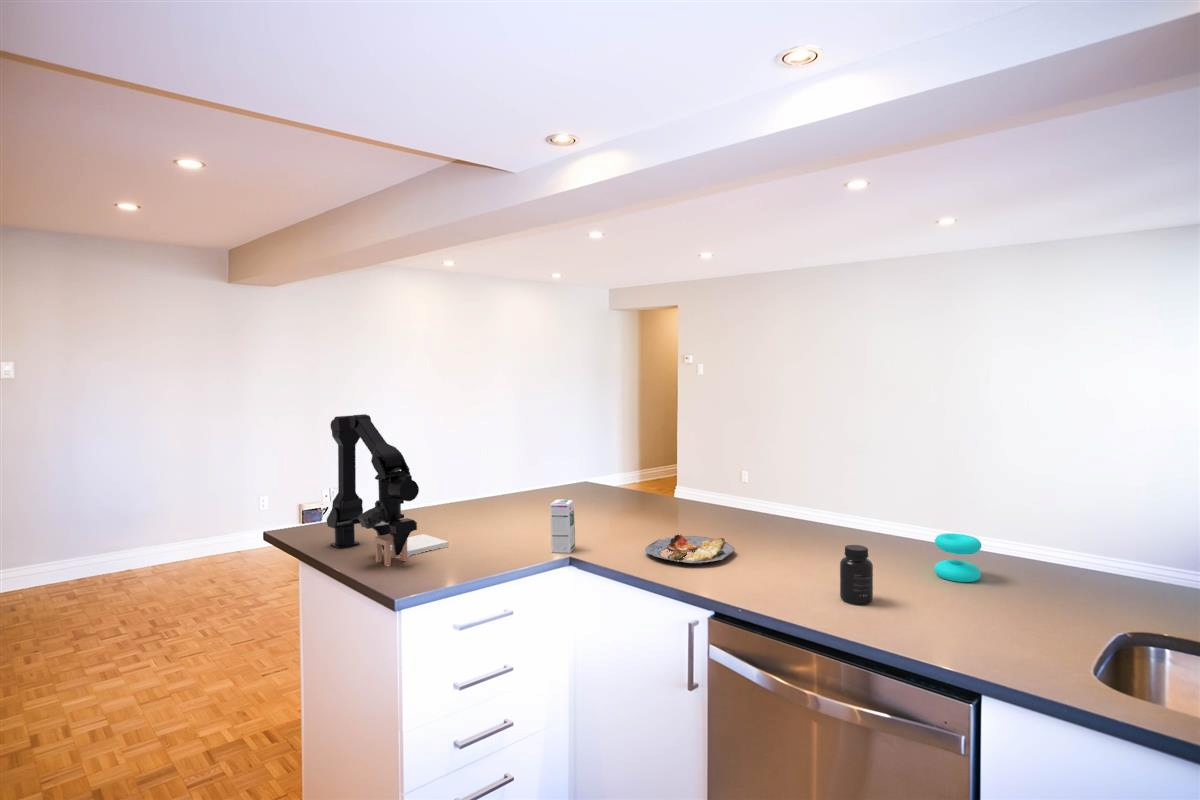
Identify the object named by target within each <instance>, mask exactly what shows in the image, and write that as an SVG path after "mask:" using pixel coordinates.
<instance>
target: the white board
mask: <svg viewBox="0 0 1200 800" xmlns="http://www.w3.org/2000/svg"><path fill="white" fill-rule="evenodd" d="M449 544H450V543H449V541H448V540H445V539H442V538H441V539H440V538H438V537H435V536H431V535H428V534H426V533H422V534H418V535H414V536H408V538H407V556H408V557H410V556H409V555H412V554H416V555H418V554H417V553H420V554H422V553H421V552H425V551H429V550H433V551H435V550H434V549H437V550H439V549H438V548H441V549H443V548H442V547H445V548H448V547H447V546H449V547H450V545H449ZM390 550H391V551H390V552H392V545H390ZM429 552H430V551H429ZM425 553H426V552H425ZM400 554H401V553H400ZM412 556H413V555H412Z"/></svg>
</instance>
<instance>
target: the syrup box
mask: <svg viewBox="0 0 1200 800" xmlns="http://www.w3.org/2000/svg"><path fill="white" fill-rule="evenodd" d="M574 502H575V501H574V500H573V499H566V498H564V499H555V500H554V501H552V502H551V503H550V504H549V508H550V509H549V510H550V534H551V536H550V537H551V539H550V540H551V543H550V544H551V553H556V554H571V553H572V552H573V551H574V549H576V530H575V529H576V528H575V503H574Z"/></svg>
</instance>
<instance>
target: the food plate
mask: <svg viewBox="0 0 1200 800" xmlns="http://www.w3.org/2000/svg"><path fill="white" fill-rule="evenodd" d="M660 549H661V550H660ZM665 549H668V550H669V552H670V551H671V553H672V552H673V553H672V554H670V555H667V557H665V556H661V554H660V553H662V552H661V551H663V550H665ZM693 550H695V552H694V551H693ZM735 550H736V549H735V547H734V546H733V545H731V544H730V543H729V542H727V541H726V538H724V537H721V538H710V537H707V536H696V535H691V536H689V535H687V536H686V535H682V534H675V535H674V536H672V537H666V538H661V539H660V538H659V539H657V540H655V541H654V542H651V543H650V544H649V545H647V546H645V548H644V552H645V553H646V554H647V555H652V556H653V557H655V558H658V559H659V558H660V559H662V560H663V559H664V560H666V561H670V562H674V563H675V562H676V563H681V564H692V565H693V564H694V565H699V564H700V565H702V564H703V563H704V564H705V563H706V564H707V563H708V562H715V561H721V560H724V559H725V558H726V557H728V556H729V555H731V554H732V553H733V552H735ZM691 551H693V552H694V553H693V552H691ZM687 552H691V553H693V554H692V555H691V556H690V557H689V558H686V559H685V560H683V559H682V558H683V557H685V556H686V555H687ZM667 558H668V559H667ZM680 559H682V560H680ZM678 560H679V561H678Z"/></svg>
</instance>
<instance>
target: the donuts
mask: <svg viewBox="0 0 1200 800" xmlns="http://www.w3.org/2000/svg"><path fill="white" fill-rule="evenodd" d="M934 543H935V545H936V547H937V548H938V549H940V550H941V551H943V552H945V553H948V554H954V555H961V556H962V555H963V556H965V555H966V556H968V555H974V554H976V553H978V552H980V551H981V548H982V542H981V541H980V540H979V539H978V538H976V537H975V536H971V535H967V534H965V533H964V534H962V533H946V532H945V533H941V534H938V535H936V536H935V538H934ZM934 572H935V574H936V575H937V576H938V577H940V578H941V579H944V580H947V581H952V582H957V583H958V582H959V583H973V582H977V581H979V579H980V578H981V576H982V573H981V572H982V571H981V570H980V568H979V567H977V565H975V564H973V563H971V562H968V561H965V560H959V559H944V560H940V561H938V562H937V563H936V564H935V566H934Z"/></svg>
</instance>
